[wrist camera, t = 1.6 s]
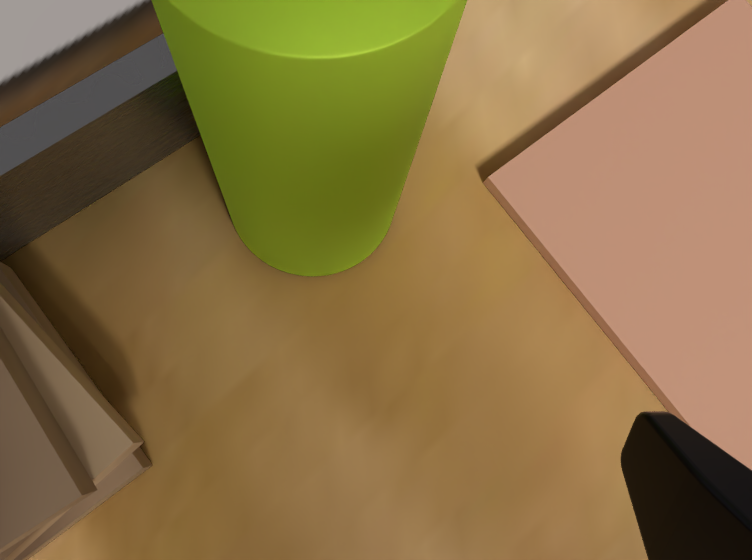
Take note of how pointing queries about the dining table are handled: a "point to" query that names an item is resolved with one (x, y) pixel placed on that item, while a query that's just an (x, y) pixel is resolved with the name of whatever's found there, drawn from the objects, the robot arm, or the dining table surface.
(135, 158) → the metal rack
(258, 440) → the dining table surface
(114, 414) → the walnut offcuts
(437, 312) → the dining table surface
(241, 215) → the soap dispenser
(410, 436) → the dining table surface
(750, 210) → the terracotta tile
